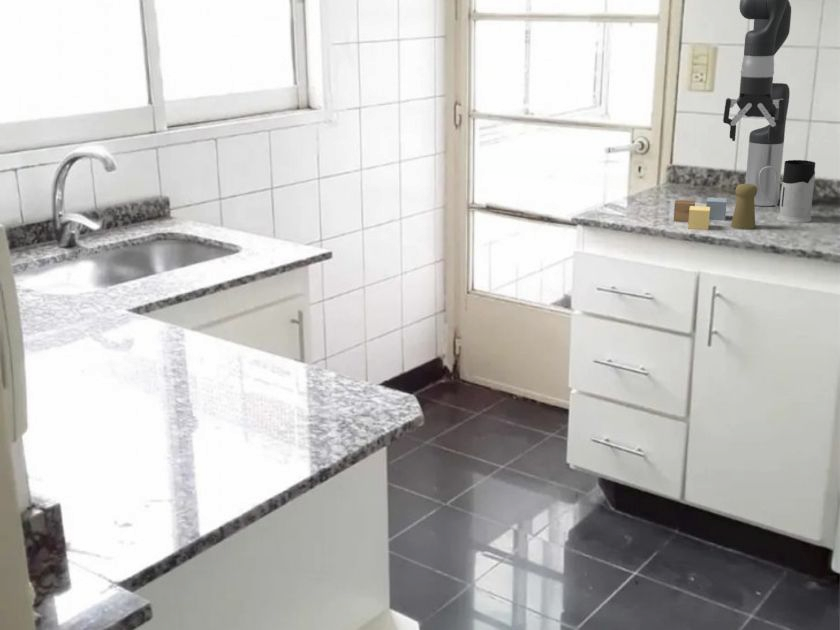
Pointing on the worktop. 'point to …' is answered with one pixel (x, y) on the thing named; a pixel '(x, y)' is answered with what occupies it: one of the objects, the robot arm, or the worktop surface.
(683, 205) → the walnut block
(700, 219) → the mustard block
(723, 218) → the slate block
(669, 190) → the worktop surface
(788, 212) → the glass holder
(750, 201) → the cork
